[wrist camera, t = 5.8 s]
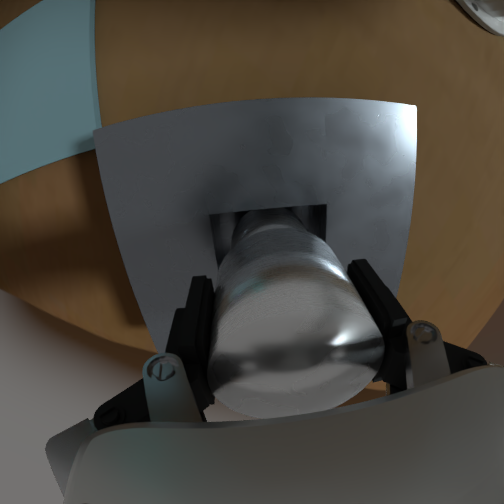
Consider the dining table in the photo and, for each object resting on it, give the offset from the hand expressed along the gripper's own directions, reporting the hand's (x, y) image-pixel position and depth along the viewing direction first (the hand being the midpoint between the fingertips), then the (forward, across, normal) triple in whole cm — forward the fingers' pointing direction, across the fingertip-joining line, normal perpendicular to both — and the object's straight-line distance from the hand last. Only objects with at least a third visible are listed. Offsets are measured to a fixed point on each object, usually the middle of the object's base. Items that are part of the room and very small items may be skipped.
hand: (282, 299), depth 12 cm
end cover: (+5, 0, 0) cm, 5 cm away
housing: (+8, 0, 0) cm, 8 cm away
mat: (+8, +17, -14) cm, 24 cm away
